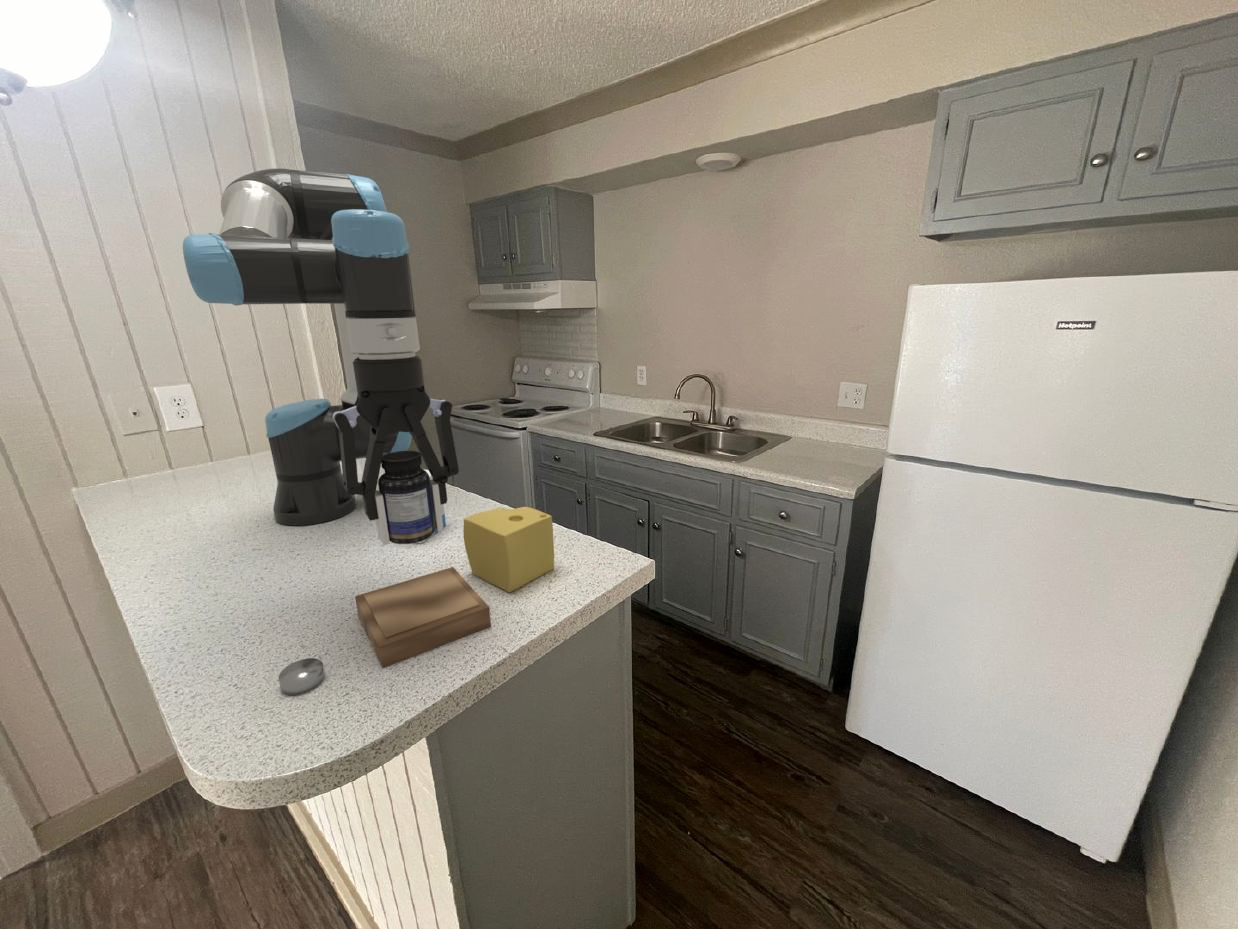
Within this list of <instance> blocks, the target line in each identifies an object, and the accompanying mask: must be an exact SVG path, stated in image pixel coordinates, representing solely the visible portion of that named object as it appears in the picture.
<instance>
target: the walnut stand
mask: <svg viewBox="0 0 1238 929" xmlns="http://www.w3.org/2000/svg"><path fill="white" fill-rule="evenodd" d="M354 598H355V604H356V609H357V610H356V611H357V614H358V617H359V619H360V621H361V624H362V627H363V629H364V630H365V632H366V635H367V637H368V640H369V642H370V644H371V646H372V648H373V650H374V653H375V654H376V657H377V660H378V661H379V664H380V666H381V668H386V667H388V666H390V665H394V664H395V663H398V662H402V661H403V660H406V659H409V658H411V657H414V656H417V655H419V654H421V653H424V652H427V651H431V650H433V649H436V648H438V647H440V646H443V645H446V644H448V643H451V642H453V641H456V640H459V639H461V638H464V637H466V636H469V635H471V634H474V633H477V632H480V631H482V630H485V629H488V628H490V627H492V622H491V613H490V606H489V605H488V604H487V603H486V602H485V601H484V599H483V598H482V597H481V596H480V595H479V594H478V593H477V591H476V590H474V589H473V587H472V586H471V585H470V584H469V583H468V582H467V581H466V580H465V579H464V577H463V576H462V575H461V573H459V572H458V571H457V570H456V568H455V567H454V566H452V567H447V568H444V569H442V570H438V571H433V572H432V573H428V574H425V575H422V576H418V577H414V578H411V579H408V580H405V581H401V582H398V583H395V584H391V585H388V586H384V587H382V588H378V589H375V590H372V591H367V592H365V593H361V594H358V595H355V596H354Z"/></svg>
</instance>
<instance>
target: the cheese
mask: <svg viewBox="0 0 1238 929" xmlns="http://www.w3.org/2000/svg"><path fill="white" fill-rule="evenodd" d="M553 524H554V523H553V516H552V515H550V514H548V513H545V512H543V511H540V509H539V510H538V509H535V508H532V507H529V506H522V507H517V508H510V509H509V508H504V507H498V508H493V509H490V510H484V511H481V512H478V513H474V514H472V515H469V516H466V517H465V518H464V519H463V526H462V528H463V529H462V530H463V531H462V532H463V533H462V534H463V544H464V549H465V553H466V556H467V559H468V563H469V566H470V570H471V573H472V575H474V576H476V577H478V578H480V579H482V580H484V581H485V582H487V583H490V584H491V585H493V586H496V587H498V588H500V589H501V590H504V591H506V592H507V593H511V592H513V591H515V590H518V589H519V588H521V587H523V586H524V585H527V584H528V583H530V582H531V581H534V580H535V579H537V578H538V577H540V576H543V575H545V574H547V573H548V572H550V571H553V570H554V568H555V546H554V545H555V542H554V527H553V526H554V525H553Z"/></svg>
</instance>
